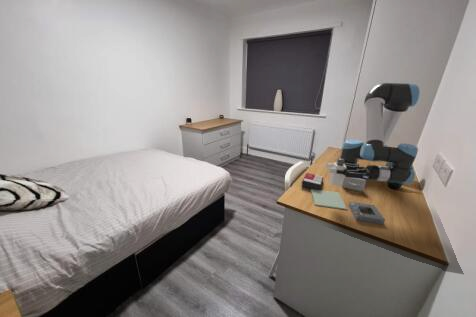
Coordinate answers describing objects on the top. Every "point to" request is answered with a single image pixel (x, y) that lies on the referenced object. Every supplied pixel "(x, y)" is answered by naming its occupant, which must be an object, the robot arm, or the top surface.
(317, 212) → the top surface
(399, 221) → the top surface
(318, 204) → the mat
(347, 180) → the cassette
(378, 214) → the socket
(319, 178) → the calculator
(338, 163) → the plug
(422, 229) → the top surface
